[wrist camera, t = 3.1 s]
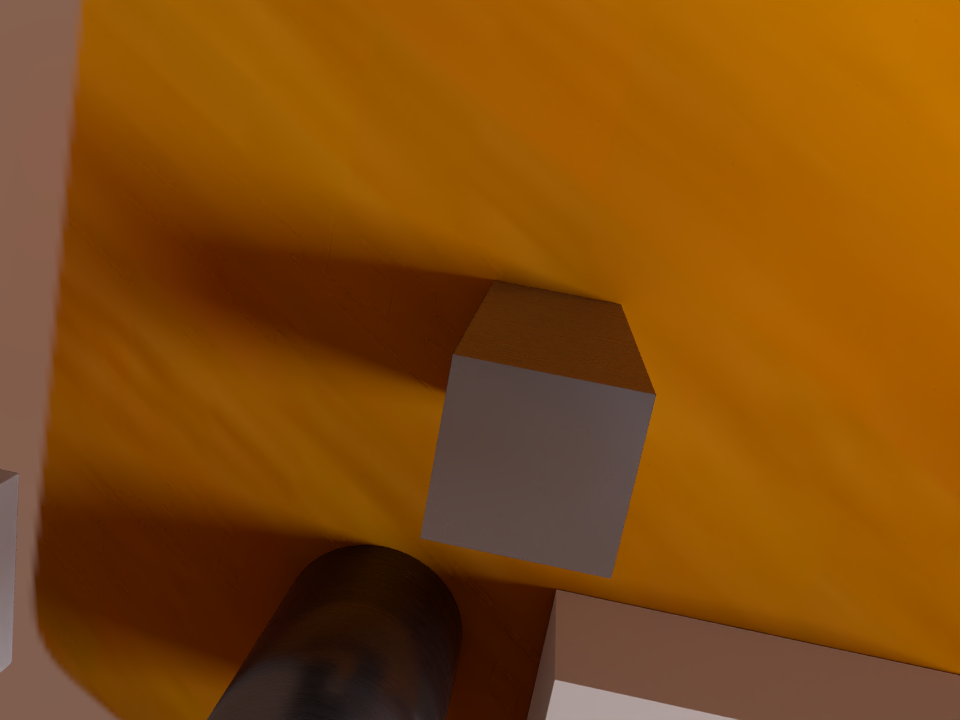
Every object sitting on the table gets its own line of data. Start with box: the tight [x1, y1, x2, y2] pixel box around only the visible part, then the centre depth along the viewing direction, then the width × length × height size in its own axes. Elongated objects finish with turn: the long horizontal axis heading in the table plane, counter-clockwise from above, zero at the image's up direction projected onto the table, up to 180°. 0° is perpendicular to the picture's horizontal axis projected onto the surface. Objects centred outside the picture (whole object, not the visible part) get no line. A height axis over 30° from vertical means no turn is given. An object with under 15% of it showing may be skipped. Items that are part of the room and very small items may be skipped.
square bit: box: [420, 280, 656, 578], centre depth 21 cm, size 4×4×10 cm
